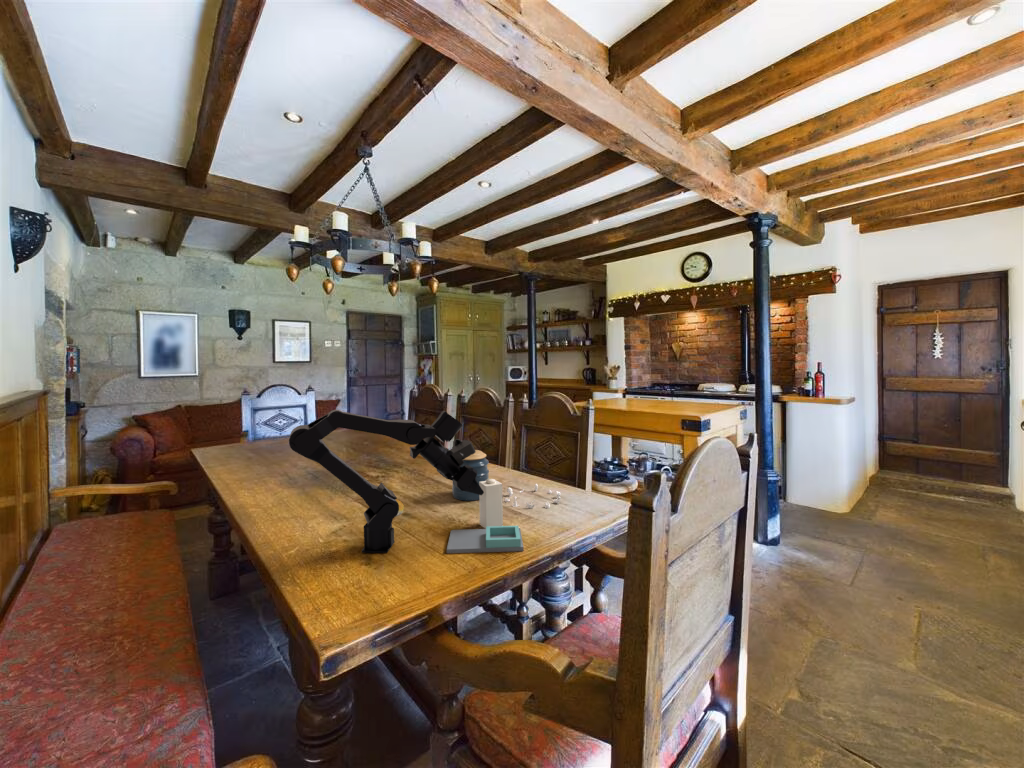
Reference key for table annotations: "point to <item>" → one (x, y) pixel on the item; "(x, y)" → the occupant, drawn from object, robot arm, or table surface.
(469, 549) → the baseplate
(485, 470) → the canister
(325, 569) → the table surface
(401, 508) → the bread roll
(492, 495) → the column
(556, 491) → the game piece set
